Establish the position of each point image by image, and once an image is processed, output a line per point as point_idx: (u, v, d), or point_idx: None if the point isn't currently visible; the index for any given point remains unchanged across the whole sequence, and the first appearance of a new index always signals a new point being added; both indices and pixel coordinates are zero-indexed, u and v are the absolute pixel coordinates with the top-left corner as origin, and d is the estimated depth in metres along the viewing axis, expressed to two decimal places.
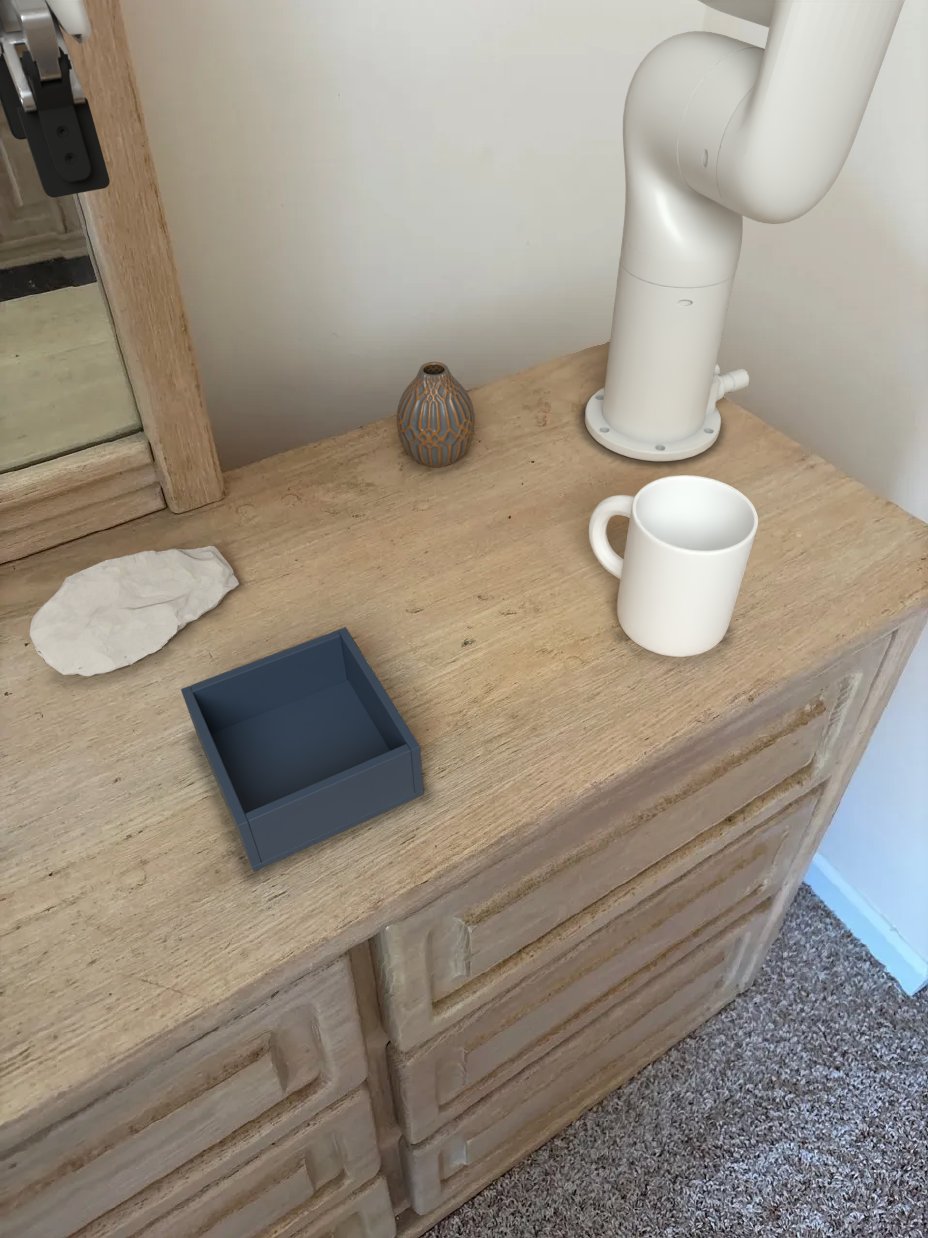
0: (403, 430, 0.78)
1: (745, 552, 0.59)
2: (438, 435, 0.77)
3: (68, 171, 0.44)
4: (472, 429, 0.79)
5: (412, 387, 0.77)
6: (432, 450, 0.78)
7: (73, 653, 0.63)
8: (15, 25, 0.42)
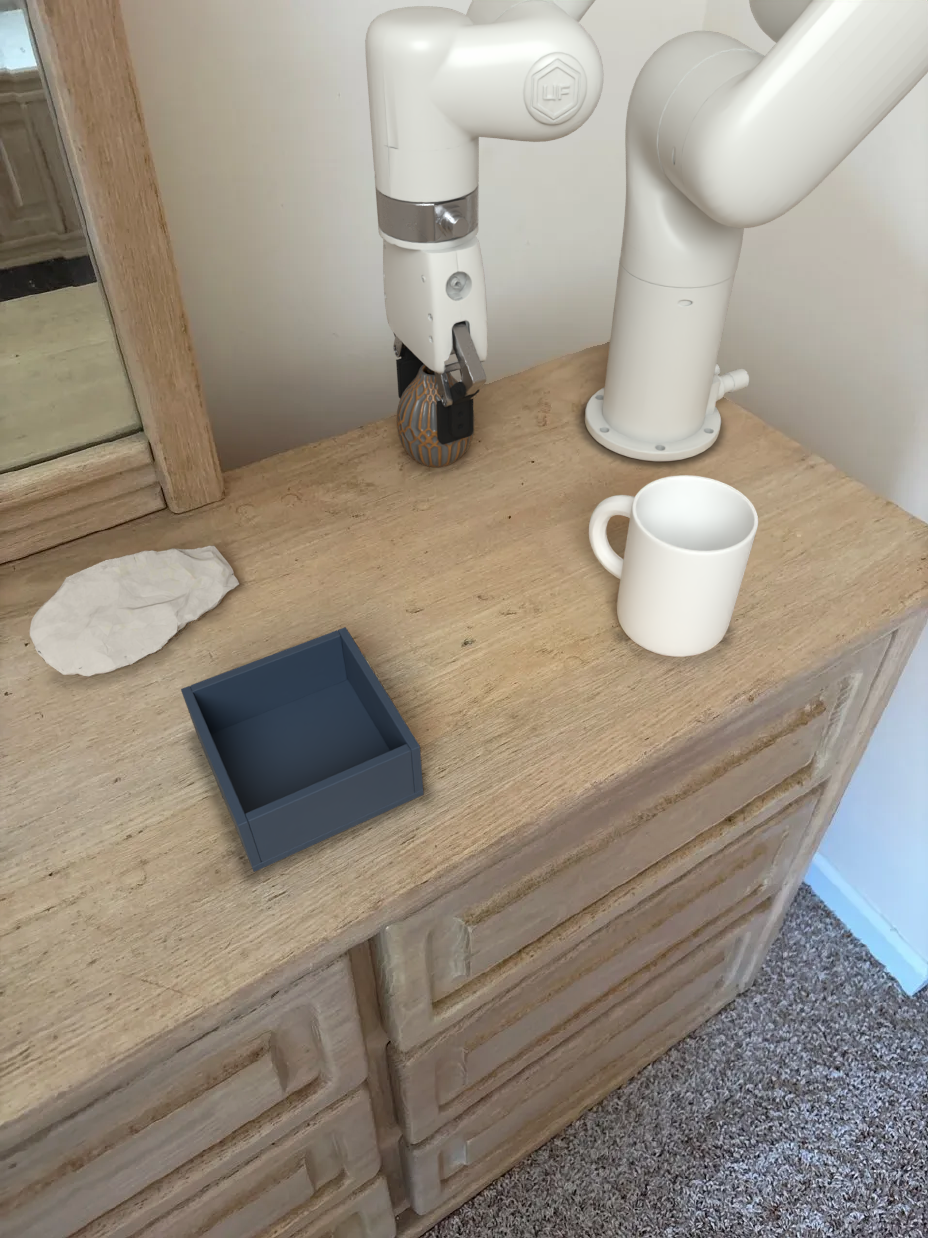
0: (403, 430, 0.78)
1: (745, 552, 0.59)
2: None
3: (457, 432, 0.76)
4: None
5: (412, 387, 0.77)
6: (432, 450, 0.78)
7: (73, 653, 0.63)
8: None
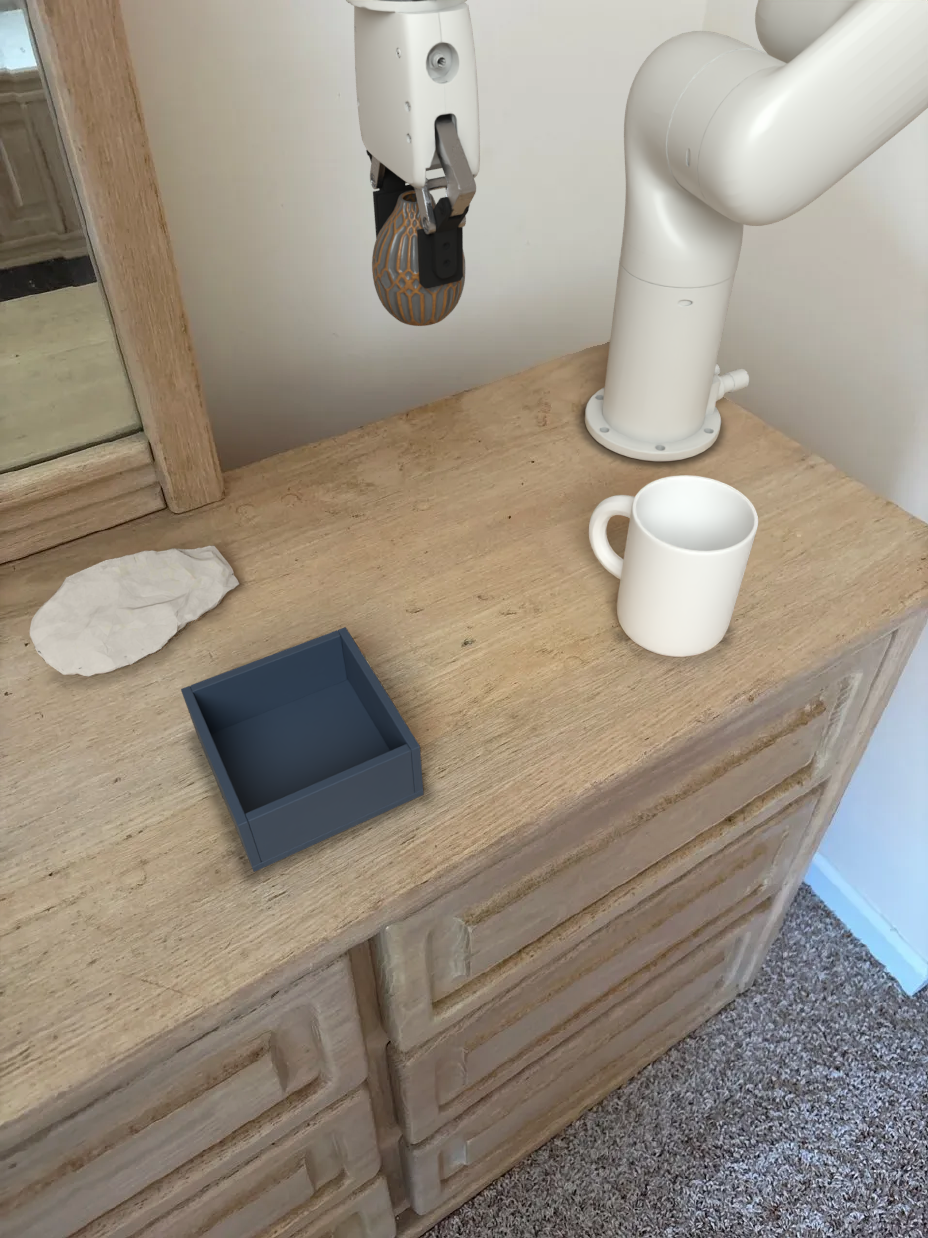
0: (379, 275, 0.65)
1: (745, 552, 0.59)
2: None
3: (442, 271, 0.63)
4: (462, 277, 0.66)
5: (390, 220, 0.64)
6: (413, 299, 0.65)
7: (73, 653, 0.63)
8: (428, 167, 0.59)
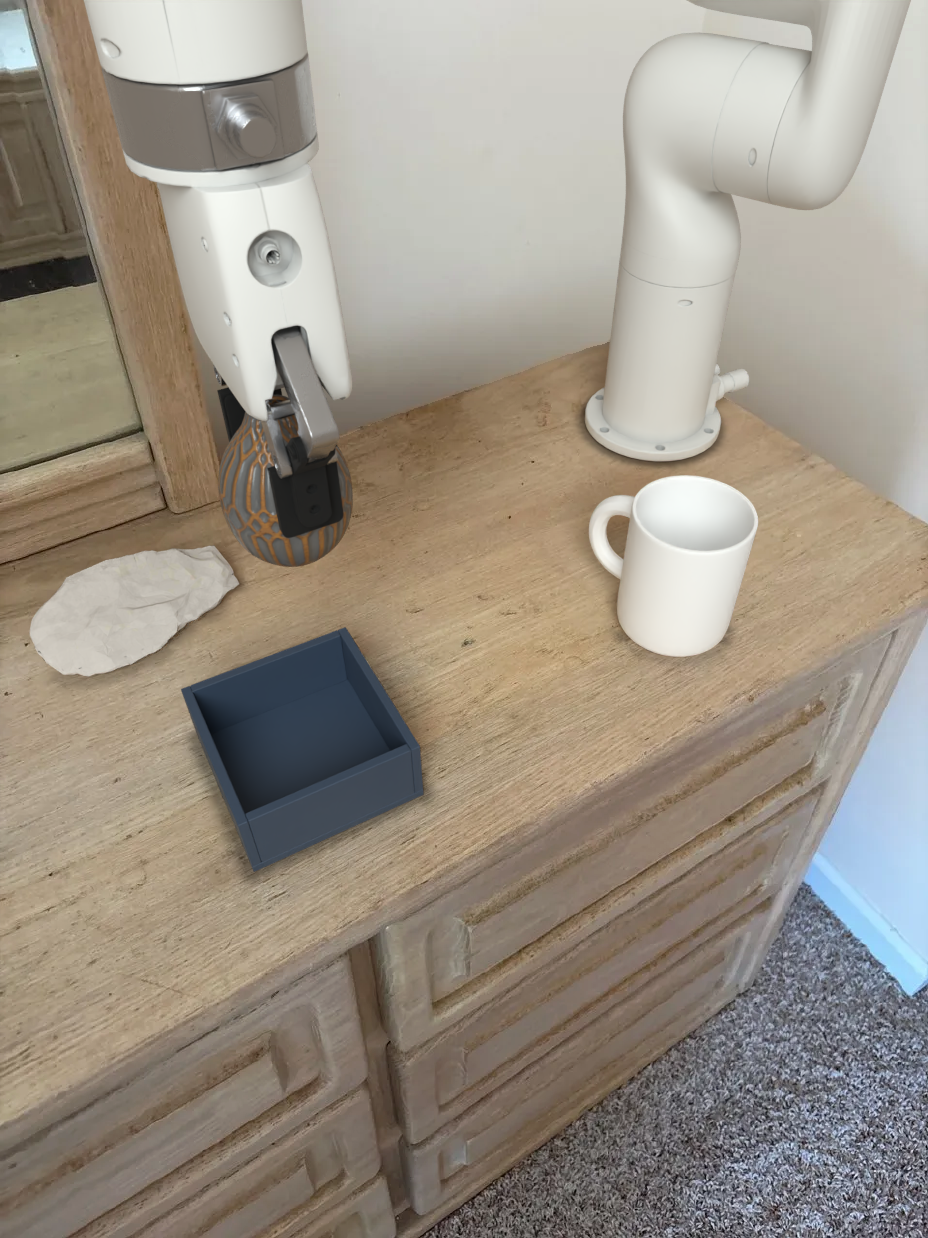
0: (226, 510, 0.46)
1: (745, 552, 0.59)
2: None
3: (310, 519, 0.43)
4: (346, 507, 0.47)
5: (236, 439, 0.45)
6: (274, 545, 0.46)
7: (73, 653, 0.63)
8: (276, 387, 0.40)
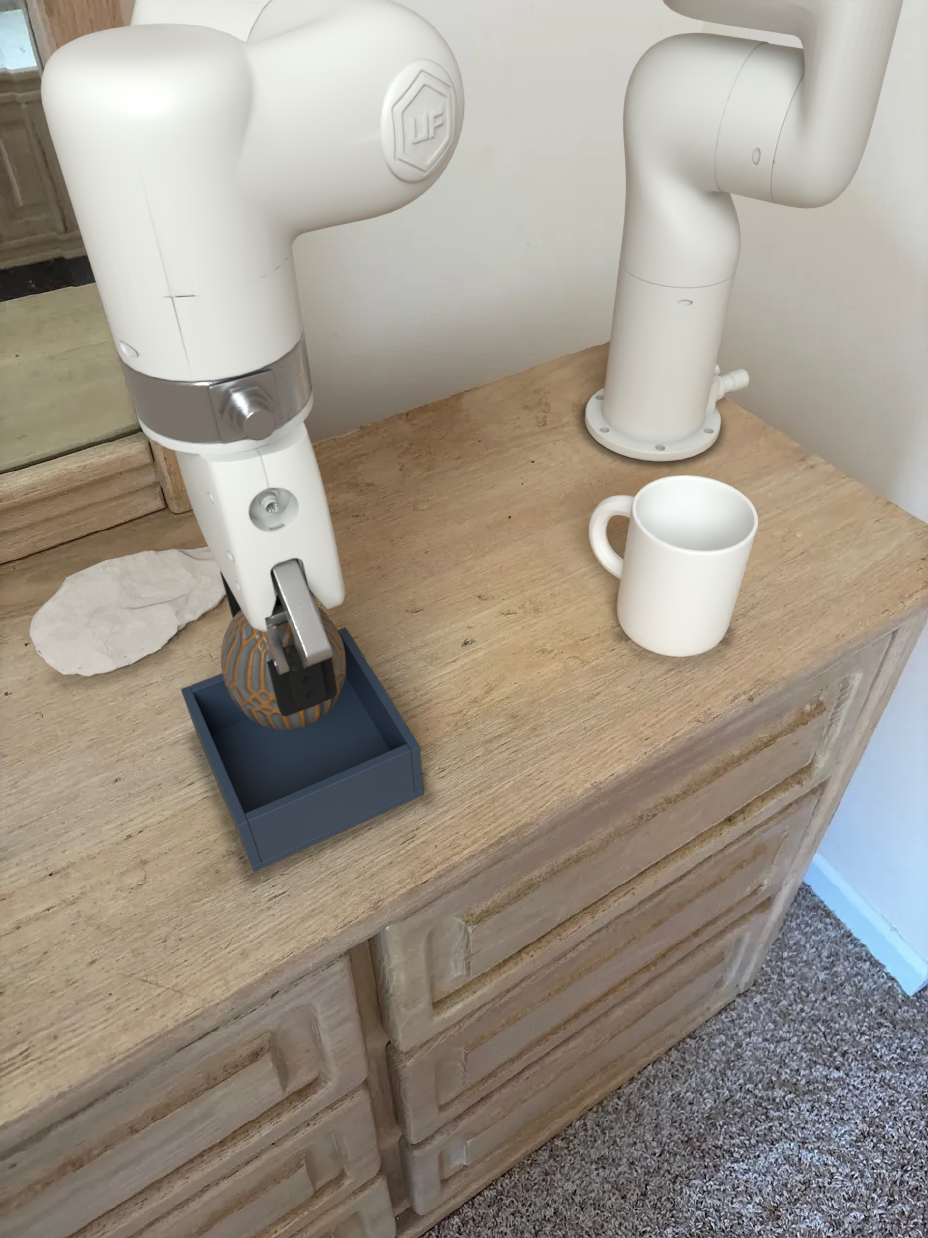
0: (228, 685, 0.50)
1: (745, 552, 0.59)
2: None
3: (306, 702, 0.47)
4: (339, 678, 0.51)
5: (237, 624, 0.48)
6: (273, 717, 0.49)
7: (73, 653, 0.63)
8: None
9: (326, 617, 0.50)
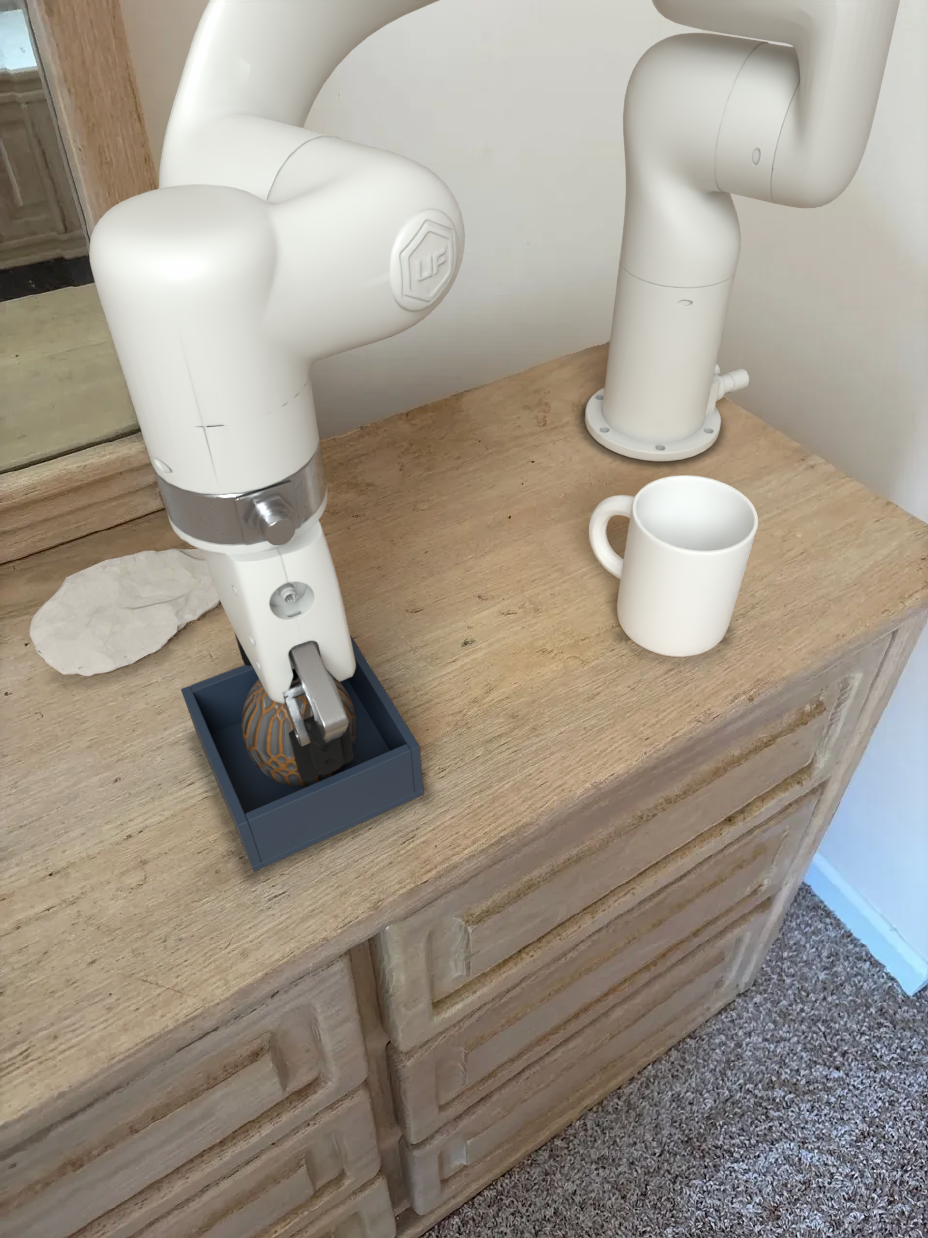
0: (248, 748, 0.54)
1: (745, 552, 0.59)
2: None
3: (325, 768, 0.50)
4: None
5: (258, 693, 0.52)
6: (290, 778, 0.54)
7: (73, 653, 0.63)
8: None
9: (339, 685, 0.54)
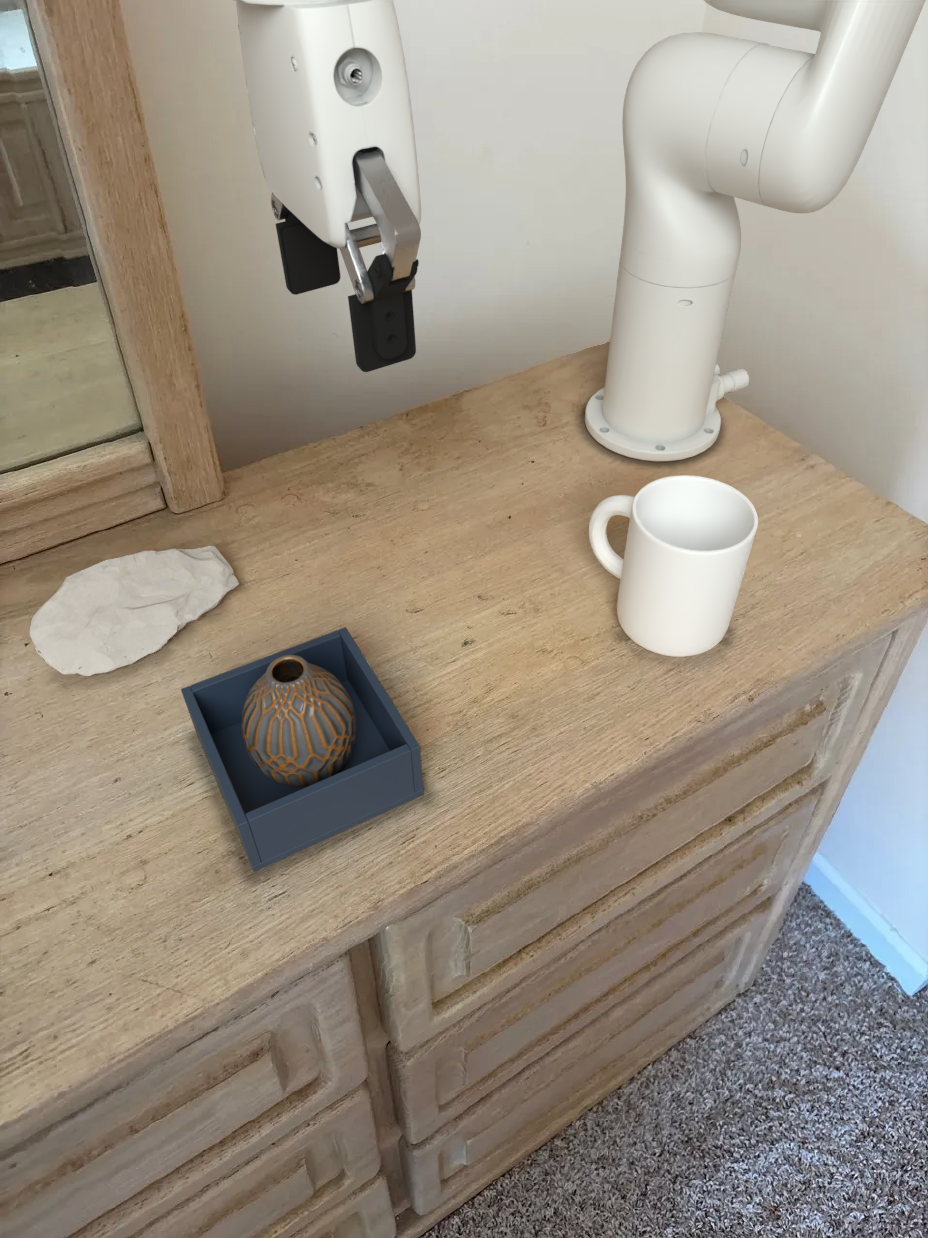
0: (248, 748, 0.54)
1: (745, 552, 0.59)
2: (296, 762, 0.53)
3: (387, 350, 0.45)
4: (351, 741, 0.55)
5: (258, 693, 0.52)
6: (290, 778, 0.54)
7: (73, 653, 0.63)
8: (350, 218, 0.43)
9: (339, 685, 0.54)
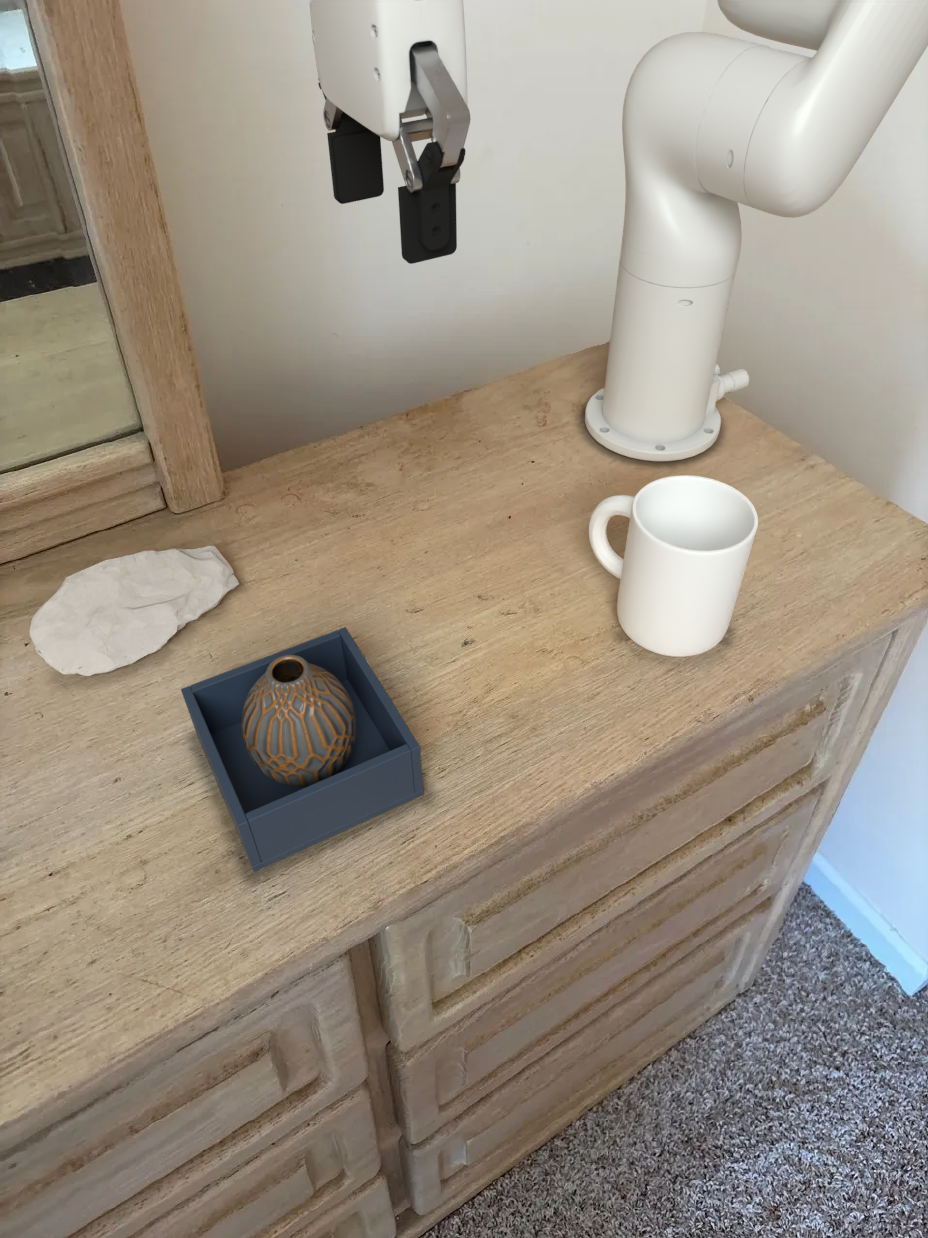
0: (248, 748, 0.54)
1: (745, 552, 0.59)
2: (296, 762, 0.53)
3: (431, 241, 0.49)
4: (351, 741, 0.55)
5: (258, 693, 0.52)
6: (290, 778, 0.54)
7: (73, 653, 0.63)
8: (402, 114, 0.47)
9: (339, 685, 0.54)
